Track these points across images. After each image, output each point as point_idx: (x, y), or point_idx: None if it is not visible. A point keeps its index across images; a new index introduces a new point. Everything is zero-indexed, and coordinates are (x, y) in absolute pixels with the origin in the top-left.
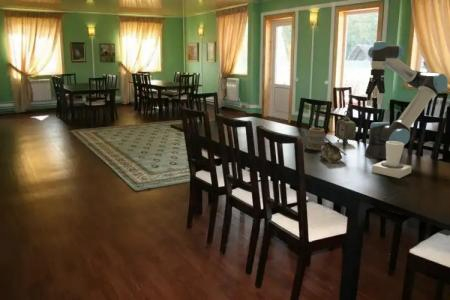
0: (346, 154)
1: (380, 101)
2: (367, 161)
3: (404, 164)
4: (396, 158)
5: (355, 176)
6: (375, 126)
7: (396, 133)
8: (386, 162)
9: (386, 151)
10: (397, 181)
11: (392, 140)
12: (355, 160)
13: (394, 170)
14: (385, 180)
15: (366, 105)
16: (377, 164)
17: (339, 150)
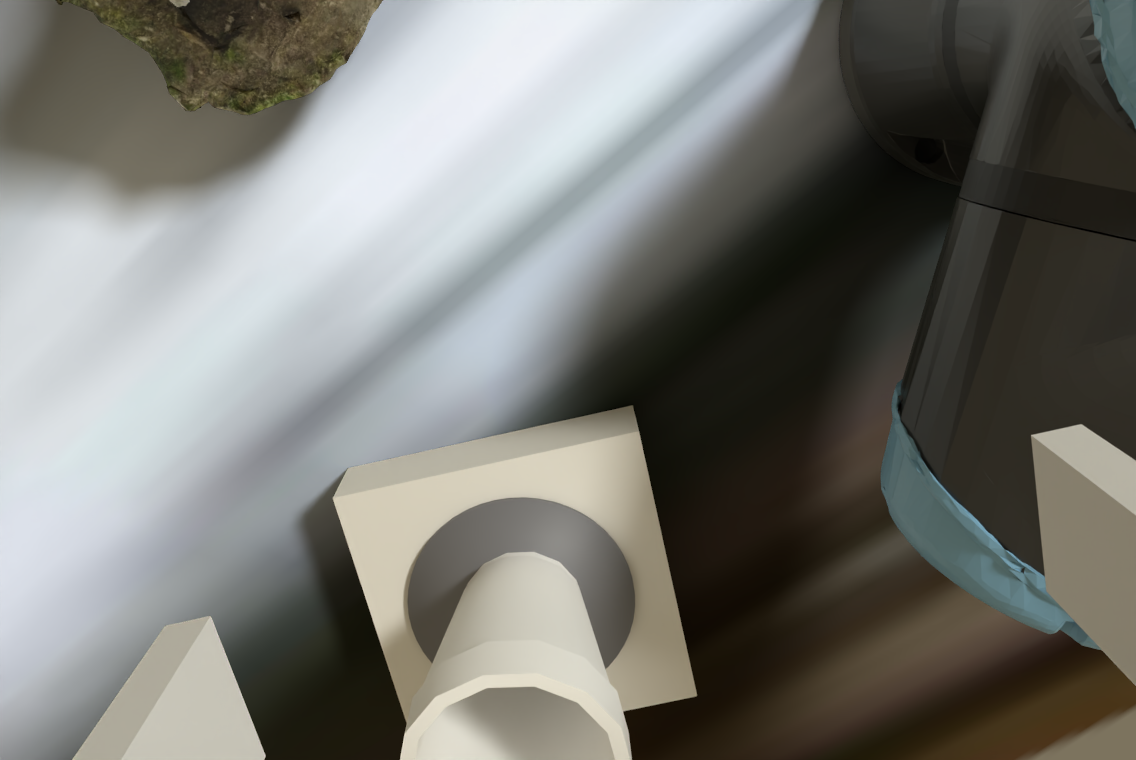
0: (362, 35)
1: (1095, 613)
2: (659, 153)
3: (682, 630)
4: (487, 715)
5: (69, 499)
6: (1100, 42)
7: (938, 564)
8: (476, 577)
9: (446, 646)
10: (330, 754)
11: (882, 468)
12: (560, 41)
13: (401, 705)
14: (252, 695)
15: (164, 632)
16: (409, 505)
17: (173, 42)
